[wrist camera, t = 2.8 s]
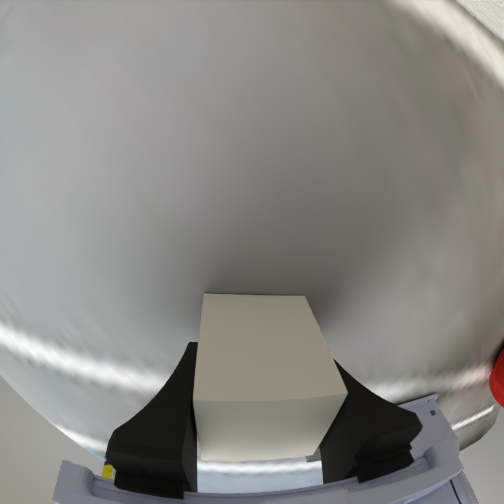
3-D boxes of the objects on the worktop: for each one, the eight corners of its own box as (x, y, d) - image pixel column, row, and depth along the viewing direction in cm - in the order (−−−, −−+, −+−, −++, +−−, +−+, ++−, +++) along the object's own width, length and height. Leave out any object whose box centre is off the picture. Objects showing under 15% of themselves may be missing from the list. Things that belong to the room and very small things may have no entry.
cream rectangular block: (304, 295, 14) (348, 393, 8) (289, 365, 16) (312, 454, 10) (203, 293, 14) (192, 399, 8) (205, 364, 16) (201, 460, 10)
